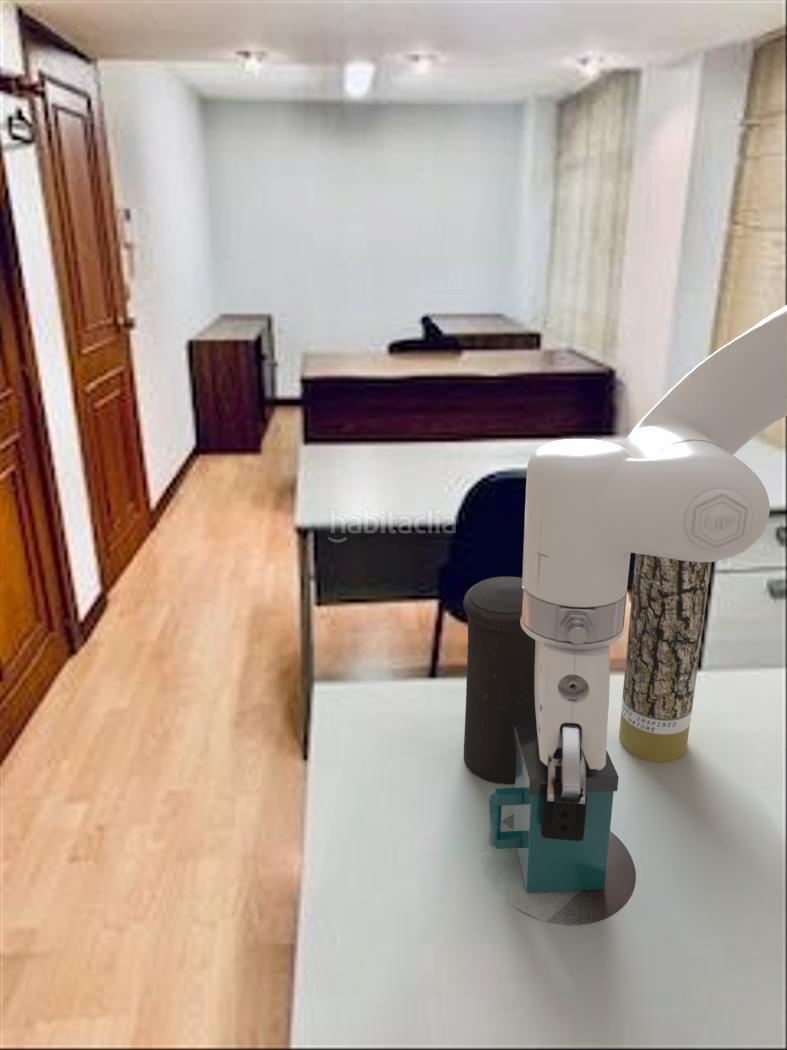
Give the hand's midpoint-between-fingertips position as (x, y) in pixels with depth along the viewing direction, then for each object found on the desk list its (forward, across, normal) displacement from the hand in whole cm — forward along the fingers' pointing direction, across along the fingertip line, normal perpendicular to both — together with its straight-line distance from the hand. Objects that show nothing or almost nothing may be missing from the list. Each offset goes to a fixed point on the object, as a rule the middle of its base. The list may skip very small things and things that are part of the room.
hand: (559, 799), depth 62 cm
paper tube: (+7, +18, -11) cm, 22 cm away
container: (+8, +13, +4) cm, 16 cm away
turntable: (+7, 0, 0) cm, 7 cm away
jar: (+7, 0, +1) cm, 7 cm away
